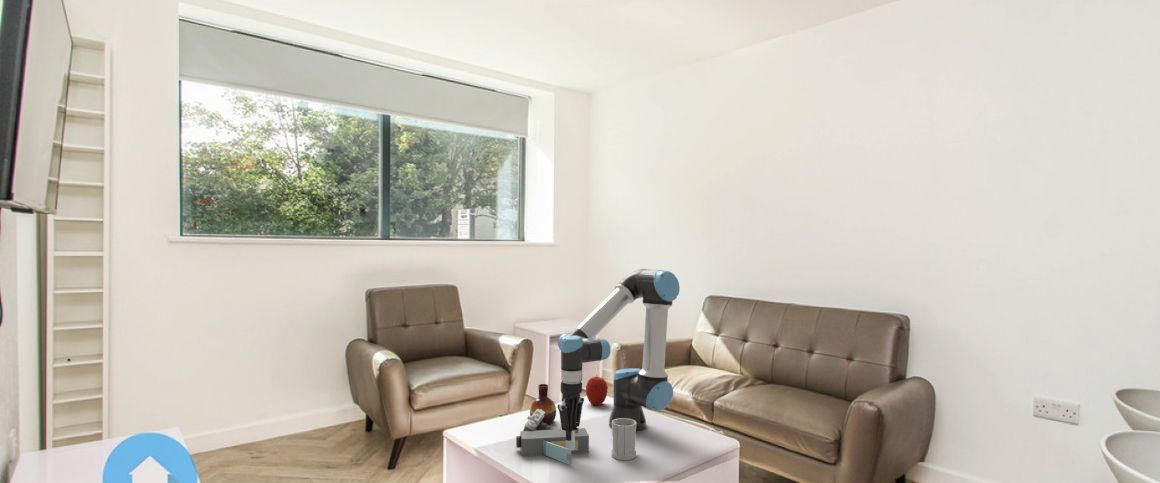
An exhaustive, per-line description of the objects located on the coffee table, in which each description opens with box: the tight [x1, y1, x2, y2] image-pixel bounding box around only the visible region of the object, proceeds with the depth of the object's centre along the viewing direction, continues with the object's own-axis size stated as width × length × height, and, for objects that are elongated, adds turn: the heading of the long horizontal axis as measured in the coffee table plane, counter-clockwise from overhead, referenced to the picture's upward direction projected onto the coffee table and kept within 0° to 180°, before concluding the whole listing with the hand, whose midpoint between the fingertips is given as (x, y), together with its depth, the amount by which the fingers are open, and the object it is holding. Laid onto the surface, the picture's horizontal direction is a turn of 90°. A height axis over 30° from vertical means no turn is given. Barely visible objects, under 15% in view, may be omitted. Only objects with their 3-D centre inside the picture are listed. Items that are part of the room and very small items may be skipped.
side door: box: [542, 441, 572, 465], centre depth 192 cm, size 13×1×5 cm, turn 49°
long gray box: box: [515, 427, 590, 457], centre depth 201 cm, size 26×8×7 cm, turn 100°
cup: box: [610, 418, 637, 461], centre depth 197 cm, size 10×9×12 cm
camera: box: [522, 409, 552, 431], centre depth 212 cm, size 9×16×10 cm, turn 169°
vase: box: [529, 383, 557, 426], centre depth 231 cm, size 11×11×15 cm
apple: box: [585, 374, 609, 407], centre depth 257 cm, size 10×10×14 cm
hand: (570, 448), depth 194 cm, fingers closed
